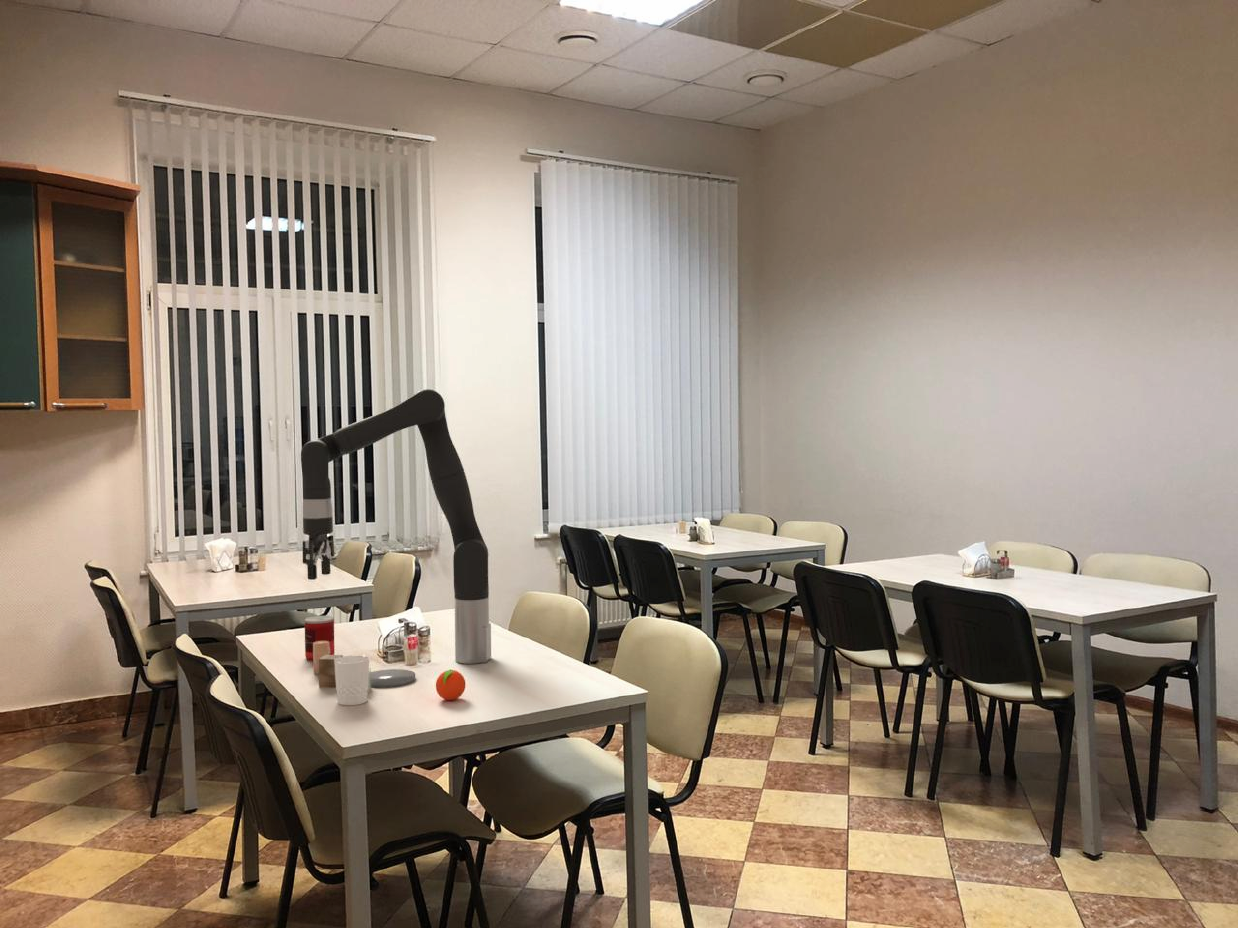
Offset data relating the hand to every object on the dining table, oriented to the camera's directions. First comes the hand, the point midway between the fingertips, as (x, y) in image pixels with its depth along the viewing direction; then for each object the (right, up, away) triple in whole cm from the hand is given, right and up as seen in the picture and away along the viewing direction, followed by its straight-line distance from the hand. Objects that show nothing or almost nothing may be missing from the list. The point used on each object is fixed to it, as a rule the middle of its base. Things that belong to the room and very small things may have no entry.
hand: (319, 576), depth 257 cm
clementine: (+40, -26, -30) cm, 56 cm away
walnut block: (+8, -25, -16) cm, 31 cm away
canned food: (-4, -24, +12) cm, 27 cm away
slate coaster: (+21, -25, -12) cm, 35 cm away
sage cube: (+16, -25, -22) cm, 37 cm away
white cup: (+17, -26, -31) cm, 44 cm away
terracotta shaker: (+2, -25, -5) cm, 25 cm away
